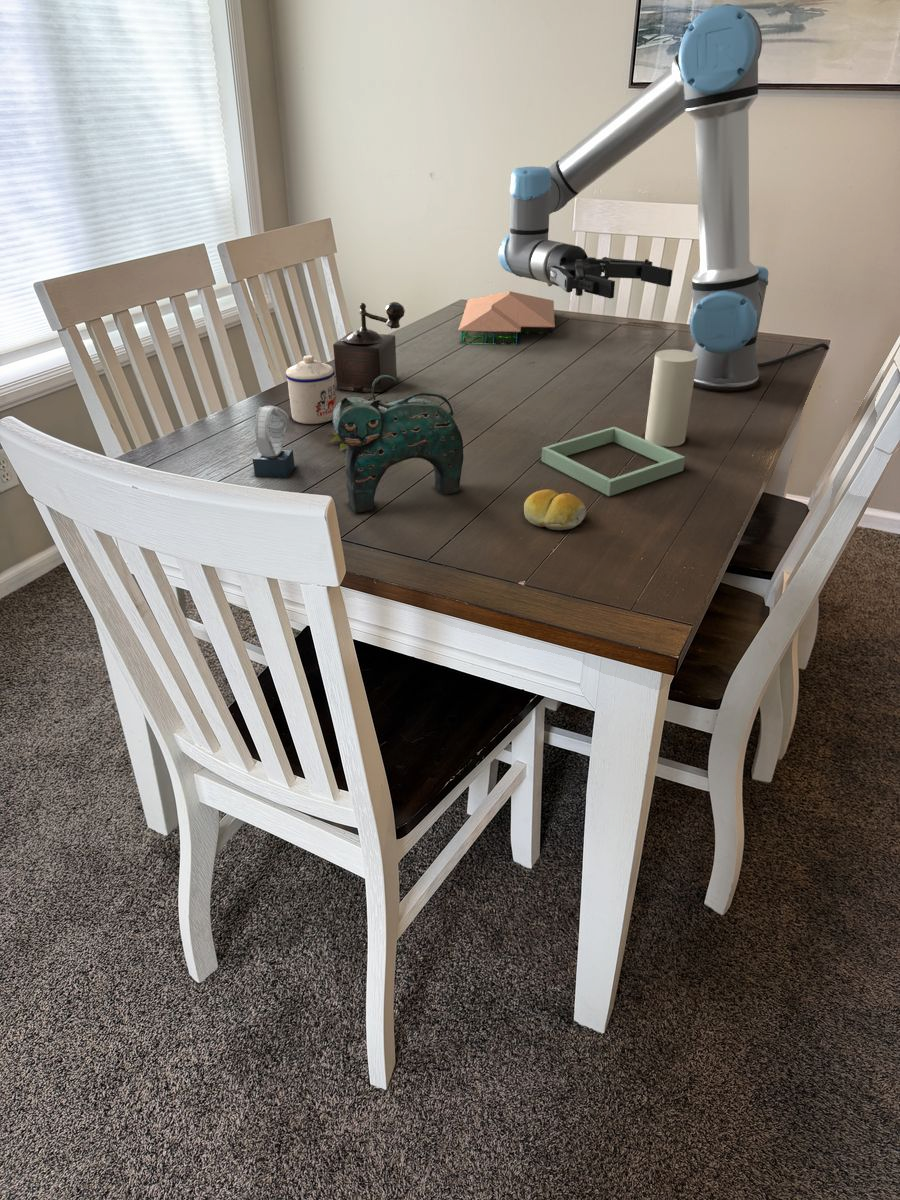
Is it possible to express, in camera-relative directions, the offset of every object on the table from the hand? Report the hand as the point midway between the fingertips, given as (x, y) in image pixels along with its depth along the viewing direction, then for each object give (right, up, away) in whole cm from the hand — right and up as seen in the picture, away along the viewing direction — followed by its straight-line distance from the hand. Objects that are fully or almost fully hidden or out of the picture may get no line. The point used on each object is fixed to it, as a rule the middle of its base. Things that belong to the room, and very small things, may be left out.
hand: (642, 284), depth 141 cm
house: (-18, +16, +71) cm, 75 cm away
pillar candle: (+6, -25, +7) cm, 27 cm away
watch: (-62, -33, -3) cm, 70 cm away
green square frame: (-6, -32, -3) cm, 32 cm away
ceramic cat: (-40, -38, -12) cm, 57 cm away
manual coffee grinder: (-48, -9, +33) cm, 59 cm away
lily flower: (-49, -26, +8) cm, 56 cm away
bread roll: (-17, -42, -18) cm, 49 cm away
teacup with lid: (-58, -18, +20) cm, 64 cm away
